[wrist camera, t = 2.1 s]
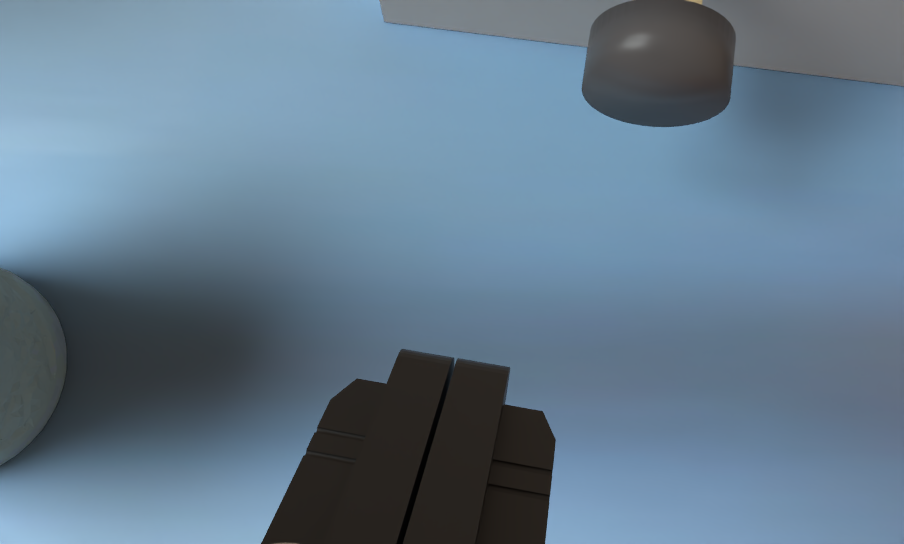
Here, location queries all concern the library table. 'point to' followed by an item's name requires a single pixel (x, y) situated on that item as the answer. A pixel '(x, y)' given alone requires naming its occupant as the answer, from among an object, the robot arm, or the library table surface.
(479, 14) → the console
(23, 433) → the grey green cup
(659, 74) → the knob
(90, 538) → the library table surface
